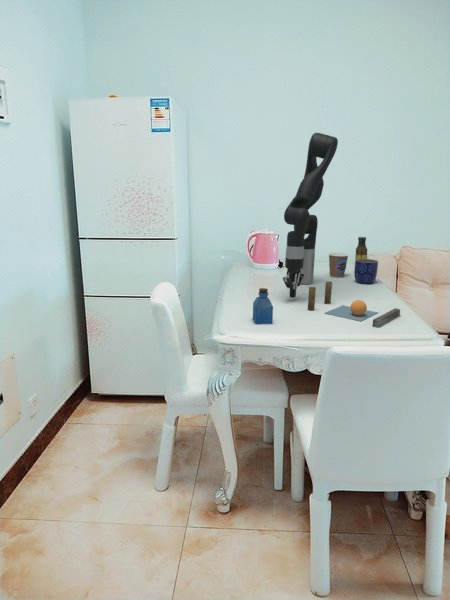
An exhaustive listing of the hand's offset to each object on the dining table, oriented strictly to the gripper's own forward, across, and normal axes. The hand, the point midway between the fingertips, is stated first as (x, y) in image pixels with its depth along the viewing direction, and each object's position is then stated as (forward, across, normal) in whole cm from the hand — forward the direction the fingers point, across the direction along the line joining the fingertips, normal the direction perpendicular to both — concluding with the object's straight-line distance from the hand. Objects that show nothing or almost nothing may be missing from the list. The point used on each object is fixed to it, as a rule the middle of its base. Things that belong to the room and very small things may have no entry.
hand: (292, 297), depth 195 cm
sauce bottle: (+2, -75, -5) cm, 75 cm away
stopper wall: (+2, 0, +41) cm, 41 cm away
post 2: (+2, -7, +13) cm, 15 cm away
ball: (-2, +1, +30) cm, 30 cm away
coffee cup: (+2, -58, -10) cm, 59 cm away
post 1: (+2, +7, +13) cm, 15 cm away
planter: (+2, -55, +7) cm, 55 cm away
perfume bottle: (+2, +32, +8) cm, 33 cm away
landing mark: (+2, 0, +27) cm, 27 cm away
